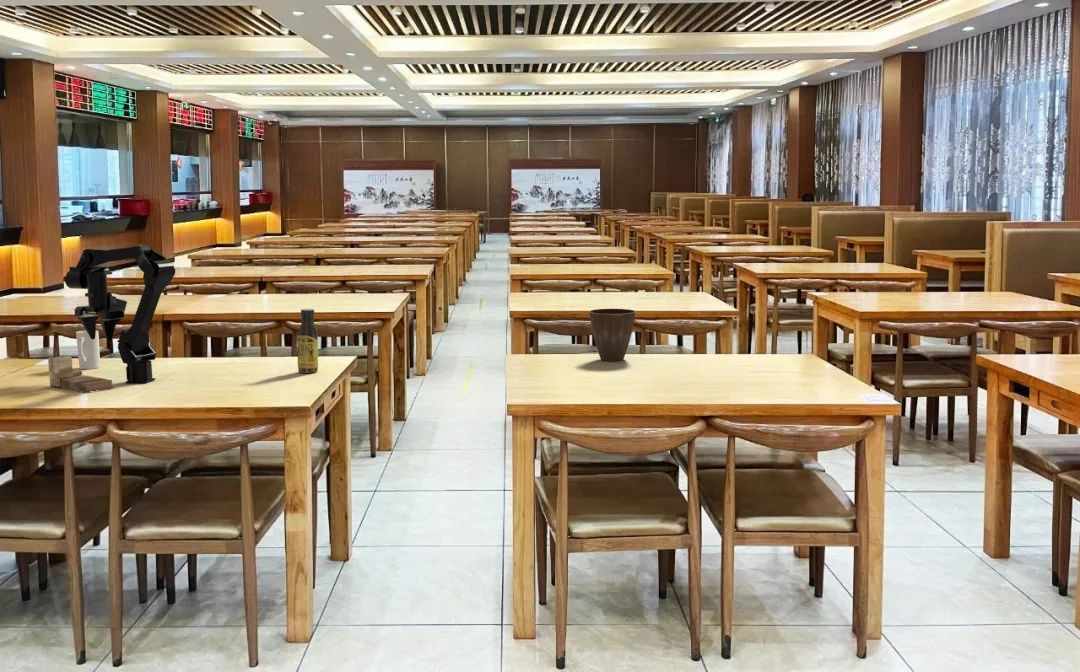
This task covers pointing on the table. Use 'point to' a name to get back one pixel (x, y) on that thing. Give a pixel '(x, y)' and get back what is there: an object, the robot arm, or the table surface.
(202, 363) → the table surface
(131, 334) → the robot arm
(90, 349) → the mug
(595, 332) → the plant pot
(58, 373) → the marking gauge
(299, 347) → the sauce bottle
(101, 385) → the walnut board
